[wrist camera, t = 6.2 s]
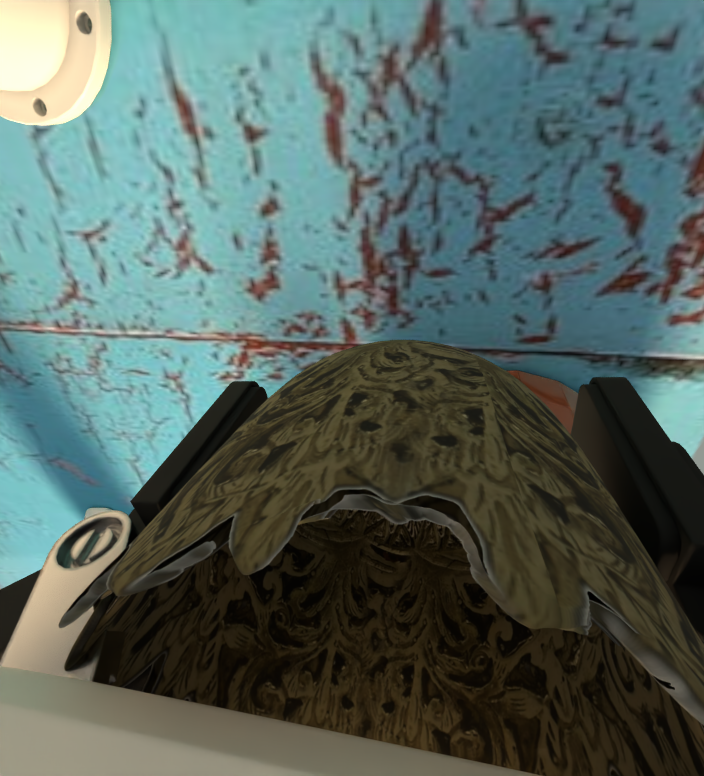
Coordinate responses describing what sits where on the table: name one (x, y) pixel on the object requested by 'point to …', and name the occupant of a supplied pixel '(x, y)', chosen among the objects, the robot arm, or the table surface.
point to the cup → (412, 578)
